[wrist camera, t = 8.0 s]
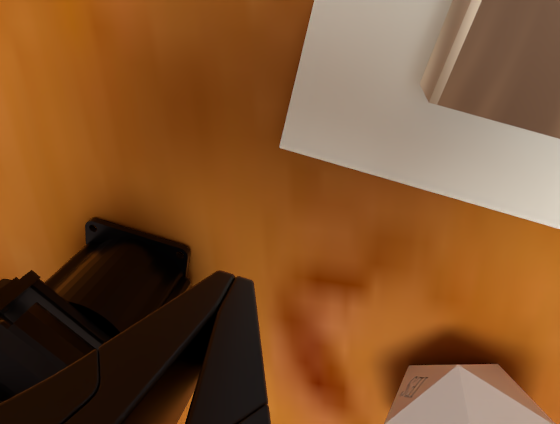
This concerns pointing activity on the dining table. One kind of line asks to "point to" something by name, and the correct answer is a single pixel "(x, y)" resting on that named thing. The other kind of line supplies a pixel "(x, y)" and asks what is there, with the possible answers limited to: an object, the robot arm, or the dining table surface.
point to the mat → (409, 113)
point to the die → (462, 397)
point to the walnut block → (499, 63)
